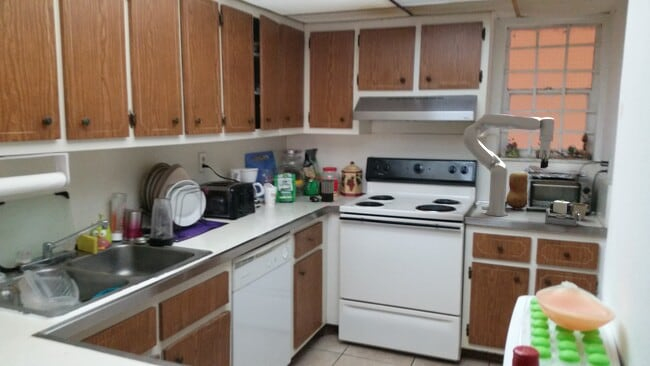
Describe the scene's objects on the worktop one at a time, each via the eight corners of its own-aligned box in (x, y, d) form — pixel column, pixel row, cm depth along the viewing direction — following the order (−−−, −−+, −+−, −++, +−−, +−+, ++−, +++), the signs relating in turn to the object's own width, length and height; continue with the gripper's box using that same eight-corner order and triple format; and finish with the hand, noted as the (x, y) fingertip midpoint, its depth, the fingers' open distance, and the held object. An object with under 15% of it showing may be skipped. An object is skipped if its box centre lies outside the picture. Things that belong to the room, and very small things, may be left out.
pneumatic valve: (569, 222, 289) (571, 201, 288) (548, 219, 298) (550, 198, 296) (573, 221, 293) (575, 200, 291) (553, 218, 301) (554, 198, 300)
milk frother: (336, 201, 359) (337, 180, 357) (322, 204, 346) (322, 182, 345) (321, 199, 367) (321, 178, 366) (306, 201, 355) (306, 180, 353)
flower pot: (589, 220, 303) (590, 206, 302) (572, 219, 305) (573, 205, 304) (584, 217, 312) (585, 203, 311) (567, 216, 314) (568, 202, 313)
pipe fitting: (545, 222, 295) (545, 210, 294) (546, 219, 303) (547, 208, 302) (579, 226, 286) (580, 213, 285) (580, 223, 295) (581, 211, 294)
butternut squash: (501, 207, 342) (503, 170, 339) (518, 207, 346) (520, 170, 343) (515, 211, 329) (518, 172, 326) (532, 210, 333) (535, 172, 330)
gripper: (541, 138, 313) (539, 166, 315) (537, 139, 298) (535, 168, 300) (554, 138, 309) (552, 166, 311) (551, 139, 294) (549, 169, 296)
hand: (544, 167), depth 306 cm, fingers open, 9 cm apart
